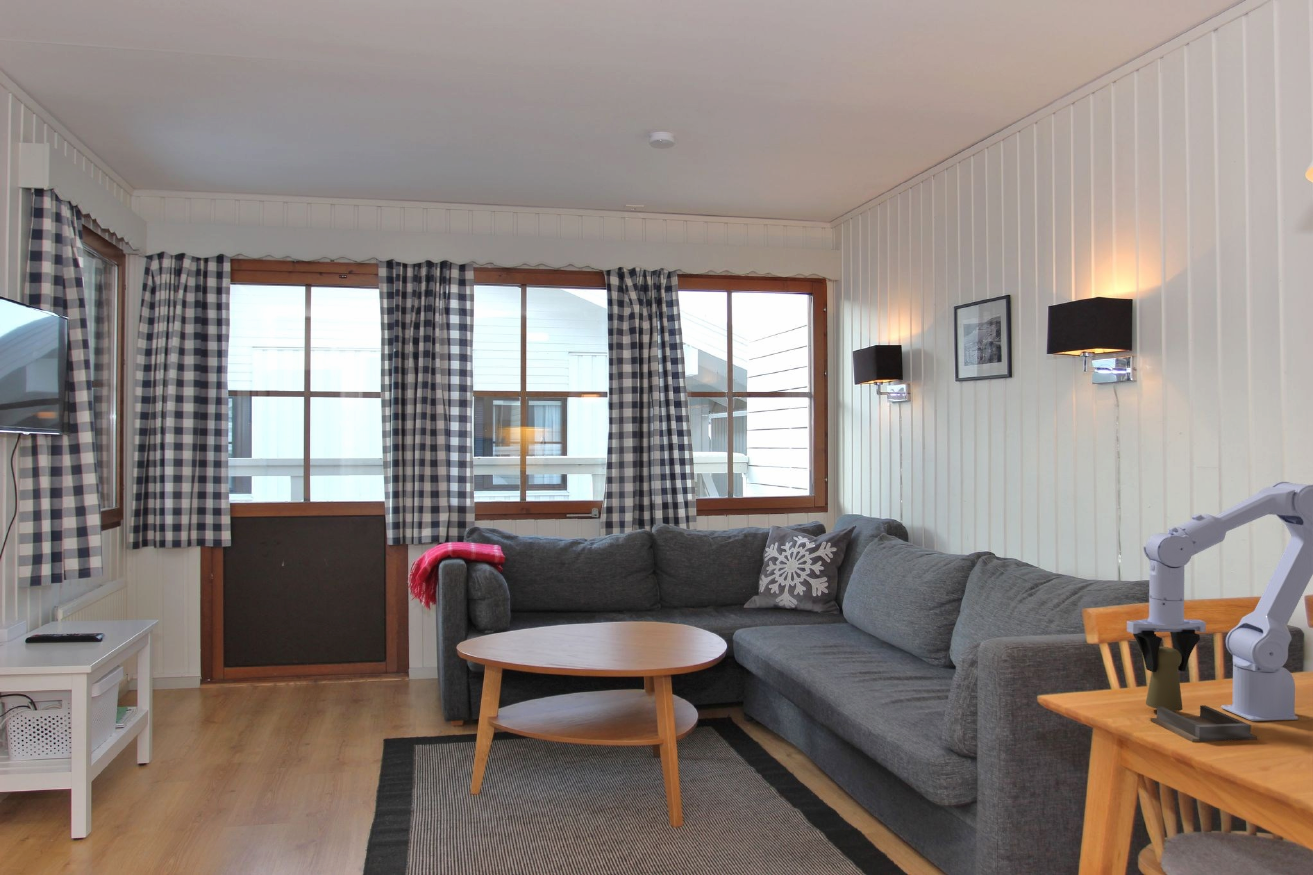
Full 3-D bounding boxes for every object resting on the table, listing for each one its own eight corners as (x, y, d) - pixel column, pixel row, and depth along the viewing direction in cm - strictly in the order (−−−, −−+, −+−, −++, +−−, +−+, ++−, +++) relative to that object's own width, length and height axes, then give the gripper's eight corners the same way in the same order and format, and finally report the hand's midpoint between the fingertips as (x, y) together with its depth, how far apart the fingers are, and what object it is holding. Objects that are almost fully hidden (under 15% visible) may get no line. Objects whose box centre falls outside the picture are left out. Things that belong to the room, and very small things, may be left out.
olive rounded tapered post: (1187, 712, 167) (1189, 652, 167) (1151, 709, 169) (1153, 650, 169) (1175, 703, 173) (1177, 645, 173) (1141, 700, 175) (1143, 642, 174)
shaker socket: (1211, 718, 167) (1211, 705, 167) (1257, 739, 156) (1257, 724, 156) (1150, 720, 166) (1150, 707, 166) (1192, 741, 155) (1192, 727, 155)
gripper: (1187, 593, 176) (1186, 663, 176) (1117, 594, 174) (1116, 665, 174) (1214, 600, 169) (1213, 673, 169) (1140, 601, 167) (1139, 675, 167)
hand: (1165, 670), depth 171 cm, fingers closed on olive rounded tapered post, 5 cm apart
